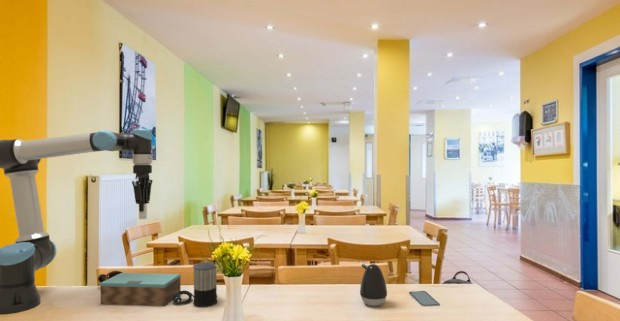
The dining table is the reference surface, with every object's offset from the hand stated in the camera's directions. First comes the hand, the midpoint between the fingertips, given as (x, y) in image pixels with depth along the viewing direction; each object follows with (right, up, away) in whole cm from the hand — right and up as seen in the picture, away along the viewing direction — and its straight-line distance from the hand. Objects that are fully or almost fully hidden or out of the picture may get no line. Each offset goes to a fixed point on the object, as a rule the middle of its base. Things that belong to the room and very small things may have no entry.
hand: (142, 218), depth 171 cm
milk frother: (+28, -30, -17) cm, 45 cm away
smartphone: (+117, -30, -16) cm, 122 cm away
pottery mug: (-15, -31, +2) cm, 34 cm away
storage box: (+5, -30, -13) cm, 33 cm away
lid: (+5, -23, -13) cm, 27 cm away
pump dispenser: (+97, -30, -20) cm, 103 cm away
